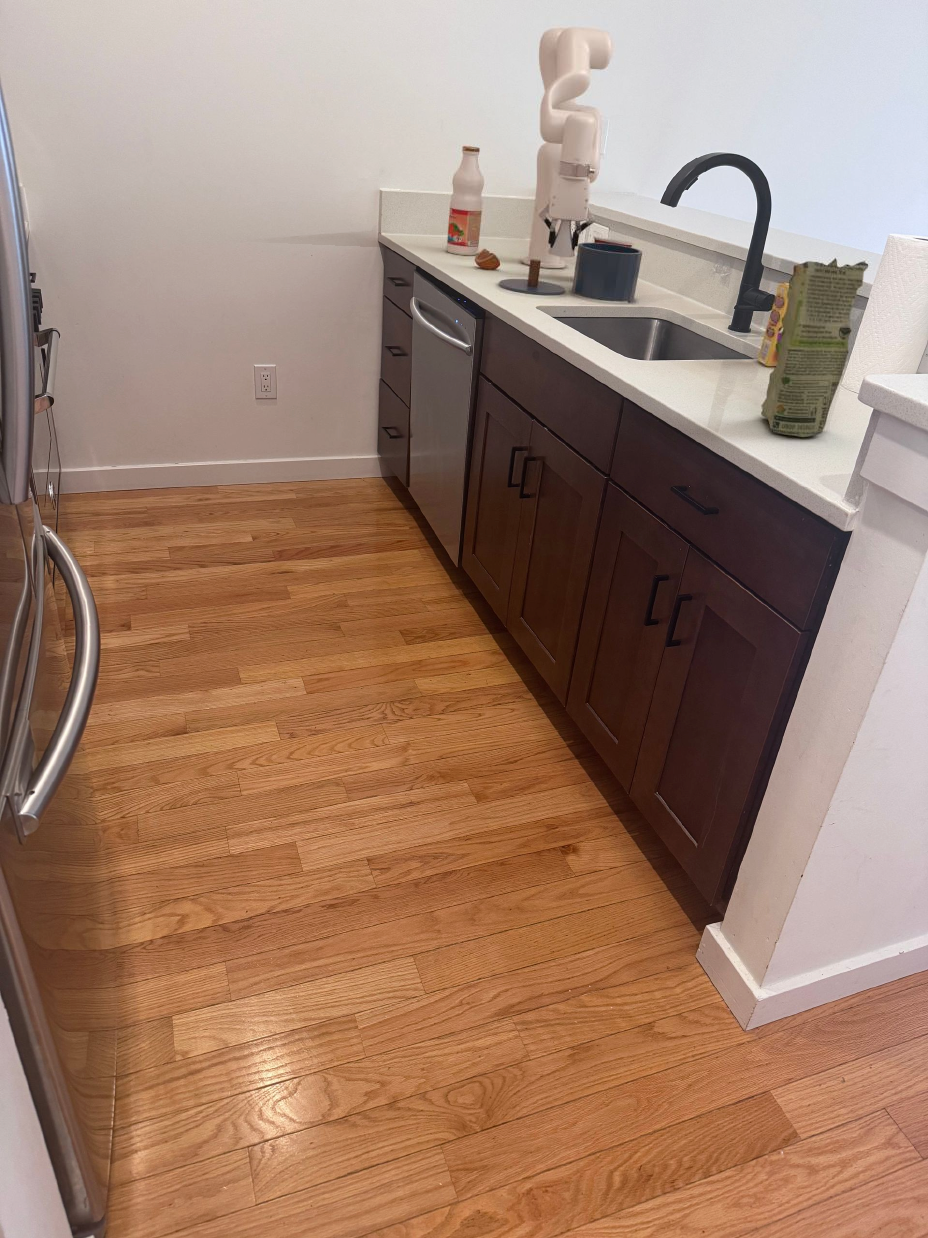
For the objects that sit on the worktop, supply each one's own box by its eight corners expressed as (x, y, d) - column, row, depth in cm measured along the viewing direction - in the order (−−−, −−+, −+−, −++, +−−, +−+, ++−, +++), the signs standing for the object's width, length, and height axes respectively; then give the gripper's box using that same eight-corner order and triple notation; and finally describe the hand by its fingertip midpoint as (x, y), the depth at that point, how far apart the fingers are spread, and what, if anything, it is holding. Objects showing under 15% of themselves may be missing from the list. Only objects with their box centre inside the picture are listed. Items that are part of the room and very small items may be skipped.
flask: (573, 259, 227) (579, 217, 222) (545, 255, 228) (551, 213, 223) (576, 254, 233) (582, 213, 228) (549, 250, 234) (555, 210, 229)
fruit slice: (503, 273, 236) (505, 254, 234) (480, 272, 234) (482, 252, 232) (492, 267, 243) (494, 248, 240) (470, 266, 241) (471, 247, 238)
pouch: (748, 430, 135) (795, 257, 122) (755, 410, 144) (798, 248, 132) (823, 445, 132) (879, 269, 119) (825, 424, 141) (876, 259, 129)
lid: (497, 281, 226) (501, 251, 222) (561, 287, 227) (565, 257, 223) (499, 293, 212) (503, 261, 208) (567, 300, 212) (572, 268, 209)
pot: (568, 287, 227) (575, 240, 221) (628, 293, 228) (637, 246, 222) (574, 299, 214) (582, 249, 208) (638, 306, 214) (647, 255, 208)
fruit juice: (480, 256, 258) (490, 149, 244) (448, 254, 257) (457, 146, 242) (474, 251, 266) (484, 147, 252) (444, 248, 264) (452, 143, 250)
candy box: (767, 367, 172) (789, 285, 164) (756, 361, 175) (777, 280, 168) (807, 368, 174) (830, 288, 166) (795, 362, 177) (818, 283, 170)
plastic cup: (633, 288, 235) (642, 240, 229) (611, 291, 228) (619, 242, 222) (601, 280, 241) (608, 233, 235) (577, 283, 234) (585, 235, 228)
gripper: (605, 172, 223) (592, 248, 233) (539, 165, 223) (529, 242, 233) (608, 176, 217) (595, 254, 227) (540, 168, 216) (530, 247, 226)
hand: (562, 247), depth 230 cm, fingers closed on flask, 4 cm apart
